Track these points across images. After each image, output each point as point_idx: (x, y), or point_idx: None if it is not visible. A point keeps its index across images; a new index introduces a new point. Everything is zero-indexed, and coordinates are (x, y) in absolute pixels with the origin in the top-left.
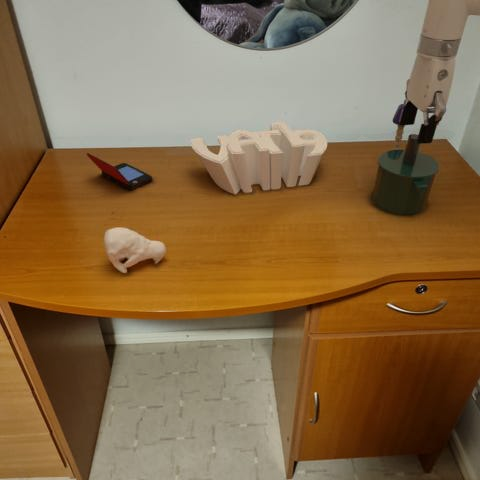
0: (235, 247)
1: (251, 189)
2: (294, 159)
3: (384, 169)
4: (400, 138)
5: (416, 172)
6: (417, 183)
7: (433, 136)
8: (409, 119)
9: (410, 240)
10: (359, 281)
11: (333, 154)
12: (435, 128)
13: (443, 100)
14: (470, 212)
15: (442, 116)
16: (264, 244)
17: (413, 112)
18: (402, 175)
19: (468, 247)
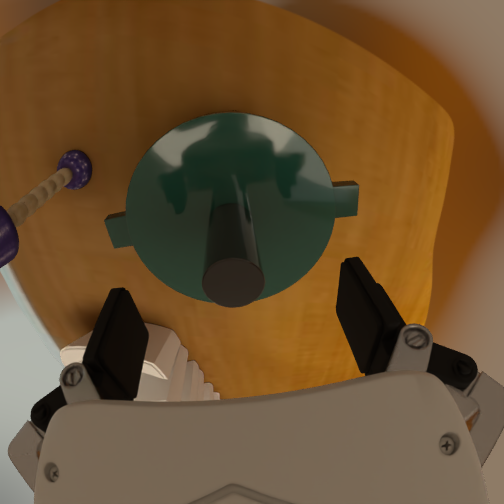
0: (332, 381)
1: (209, 386)
2: (181, 389)
3: (271, 293)
4: (32, 203)
5: (307, 214)
6: (339, 210)
7: (370, 274)
8: (132, 329)
9: (380, 192)
10: (430, 281)
11: (48, 279)
12: (387, 304)
13: (490, 451)
14: (287, 19)
15: (486, 374)
16: (335, 365)
17: (118, 349)
18: (318, 258)
19: (413, 94)
